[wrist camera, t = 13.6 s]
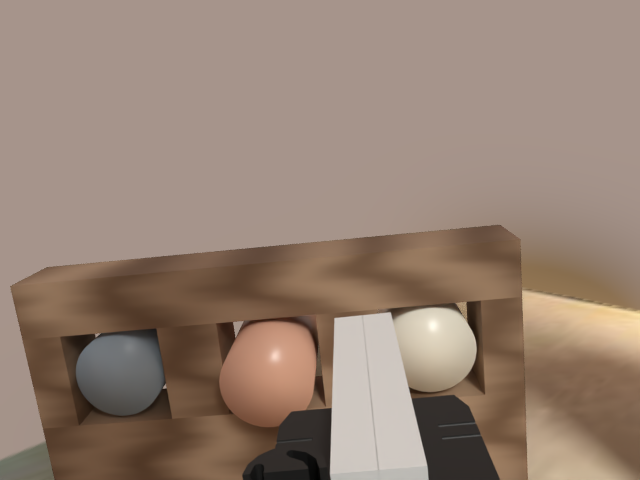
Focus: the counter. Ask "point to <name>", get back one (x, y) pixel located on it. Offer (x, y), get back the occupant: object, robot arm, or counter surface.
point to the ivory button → (433, 345)
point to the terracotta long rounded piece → (271, 369)
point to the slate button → (121, 371)
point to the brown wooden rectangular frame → (254, 304)
